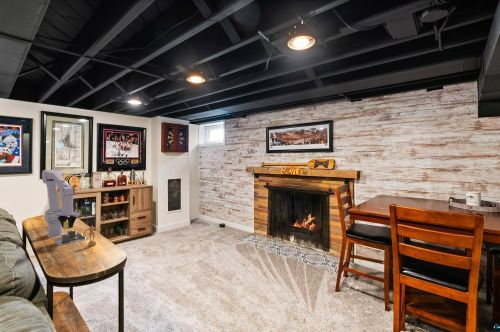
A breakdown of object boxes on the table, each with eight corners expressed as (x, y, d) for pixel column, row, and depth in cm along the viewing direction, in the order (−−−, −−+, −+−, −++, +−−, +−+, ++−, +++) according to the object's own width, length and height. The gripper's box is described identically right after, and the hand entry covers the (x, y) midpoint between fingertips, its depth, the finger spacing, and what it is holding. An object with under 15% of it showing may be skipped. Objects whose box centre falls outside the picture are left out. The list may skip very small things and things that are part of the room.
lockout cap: (66, 227, 151) (66, 221, 151) (73, 227, 151) (73, 221, 151) (61, 229, 147) (61, 222, 147) (68, 229, 147) (68, 222, 147)
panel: (52, 240, 150) (52, 236, 150) (80, 235, 162) (80, 231, 161) (58, 248, 139) (58, 243, 139) (89, 241, 150) (88, 236, 150)
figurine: (84, 249, 137) (83, 229, 136) (82, 246, 141) (82, 226, 141) (101, 246, 142) (100, 226, 142) (99, 243, 147) (99, 224, 146)
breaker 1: (61, 241, 146) (61, 235, 146) (68, 239, 148) (68, 234, 148) (62, 242, 144) (62, 236, 144) (69, 240, 147) (69, 235, 146)
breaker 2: (67, 236, 154) (67, 230, 154) (74, 235, 157) (74, 229, 157) (68, 237, 152) (68, 231, 152) (75, 236, 155) (75, 230, 155)
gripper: (50, 206, 145) (51, 228, 146) (72, 207, 144) (72, 230, 144) (61, 204, 152) (61, 225, 153) (82, 205, 151) (82, 226, 151)
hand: (67, 227), depth 149 cm, fingers closed on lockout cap, 4 cm apart
